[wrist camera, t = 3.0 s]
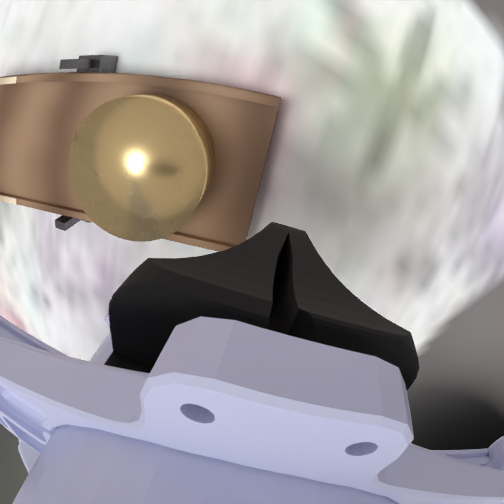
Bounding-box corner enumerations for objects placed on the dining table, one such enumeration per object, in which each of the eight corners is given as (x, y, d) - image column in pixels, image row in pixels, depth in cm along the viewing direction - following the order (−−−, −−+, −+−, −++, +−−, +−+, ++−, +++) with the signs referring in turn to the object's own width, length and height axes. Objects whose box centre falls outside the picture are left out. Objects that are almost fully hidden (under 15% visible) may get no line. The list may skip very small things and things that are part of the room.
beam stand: (117, 56, 17) (78, 54, 14) (103, 212, 24) (70, 236, 20) (96, 56, 17) (56, 55, 14) (84, 207, 24) (51, 229, 20)
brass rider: (227, 104, 16) (218, 108, 13) (203, 231, 20) (192, 255, 17) (100, 88, 15) (72, 92, 13) (92, 206, 19) (69, 225, 17)
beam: (280, 97, 17) (281, 98, 15) (243, 245, 22) (241, 258, 20) (-26, 80, 15) (-40, 83, 14) (-25, 185, 20) (-37, 192, 19)
